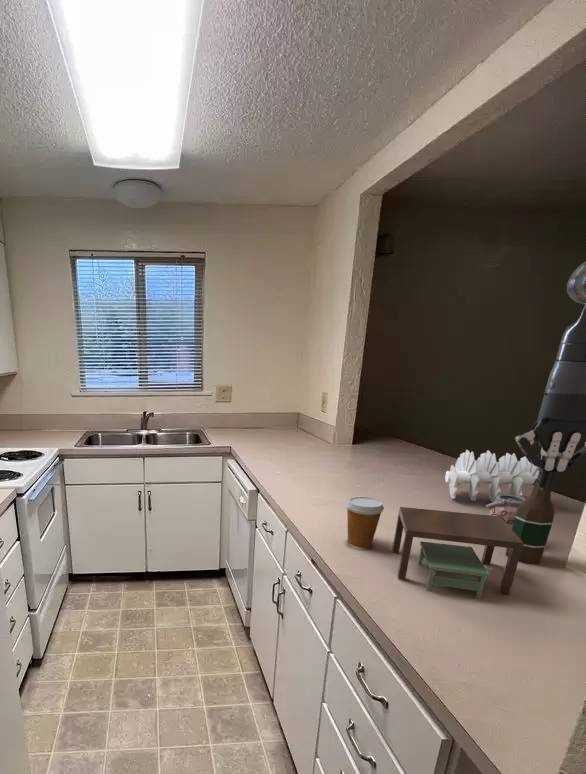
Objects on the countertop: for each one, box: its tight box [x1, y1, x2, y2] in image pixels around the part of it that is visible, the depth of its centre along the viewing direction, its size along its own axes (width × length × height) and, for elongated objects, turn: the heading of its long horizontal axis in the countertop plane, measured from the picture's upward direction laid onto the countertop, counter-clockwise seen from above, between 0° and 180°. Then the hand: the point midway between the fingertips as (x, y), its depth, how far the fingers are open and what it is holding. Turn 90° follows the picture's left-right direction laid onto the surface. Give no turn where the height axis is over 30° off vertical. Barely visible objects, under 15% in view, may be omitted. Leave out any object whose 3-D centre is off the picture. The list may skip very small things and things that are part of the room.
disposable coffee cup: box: [345, 496, 385, 548], centre depth 119 cm, size 10×10×12 cm
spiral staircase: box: [444, 449, 539, 503], centre depth 148 cm, size 18×18×25 cm
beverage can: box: [485, 494, 526, 529], centre depth 120 cm, size 9×8×12 cm
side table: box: [391, 506, 524, 596], centre depth 103 cm, size 22×16×12 cm
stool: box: [417, 541, 489, 599], centre depth 100 cm, size 11×14×6 cm
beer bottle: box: [505, 468, 555, 565], centre depth 107 cm, size 8×8×24 cm
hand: (545, 489), depth 77 cm, fingers closed
